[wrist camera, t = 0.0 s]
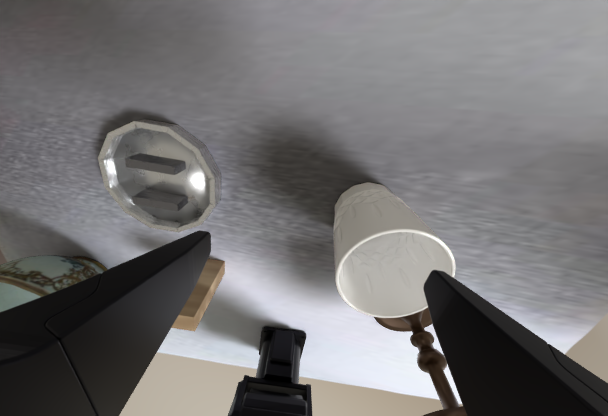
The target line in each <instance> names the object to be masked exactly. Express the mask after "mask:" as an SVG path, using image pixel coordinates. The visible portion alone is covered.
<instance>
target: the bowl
mask: <svg viewBox="0 0 608 416" xmlns="http://www.w3.org/2000/svg"><path fill="white" fill-rule="evenodd" d="M106 270H107V269H106V268H105V267H104V266H103V265H102V264H100V263H99V262H97V261H94V260H92V259H90V258H87V257H81V256H77V257H72V258H71V257H66V256H55V255H54V256H53V255H46V256H34V257H27V258H22V259H18V260H14V261H11V262H8V263H5V264H2V265H0V312H2V311H5V310H8V309H10V308H13V307H16V306H18V305H21V304H24V303H26V302H29V301H32V300H35V299H37V298H40V297H43V296H45V295H48V294H50V293H53V292H56V291H58V290H61V289H63V288H66V287H68V286H71V285H73V284H75V283H78V282H80V281H83V280H85V279H87V278H90V277H92V276H94V275H97V274H99V273H103V272H104V271H106Z"/></svg>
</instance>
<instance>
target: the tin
mask: <svg viewBox="0 0 608 416" xmlns="http://www.w3.org/2000/svg"><path fill="white" fill-rule="evenodd" d="M98 161H99V165H100V169H101V173H102V177H103V181H104V186H105V188H106V189H107V190H108V192H109V193H110V194H111V195H112V197H113V198H114V199H115V201H116V202H117V203H118V204H119V206H120V207H121V208H122V209H123V211H124V212H126V213H127V214H129V215H131V216H132V217H134V218H135V219H137V220H139V221H140V222H142V223H144V224H145V225H147V226H149V227H150V228H155V229H161V230H167V231H173V232H181V231H184V230H187V229H190V228H193V227H196V226H199V225H201V224H202V223H203V222H204V221H205V220H206V219H207V218H208V216H209V215H210V214H211V212H212V211H213V209H214V208H215V207H216V205H217V204H218V202H219V201H220V200H221V173H220V171H219V169H218V167H217V165H216V163H215V162H214V160H213V158H212V156H211V154H210V152H209V151H208V149H207V147H206V145H204V144H203V143H202V142H200V141H199V140H198V139H196V138H195V137H194V136H192V135H191V134H190V133H188V132H187V131H185V130H184V129H183V128H181V127H180V126H179V125H175V124H170V123H164V122H159V121H153V120H148V119H145V120H138V121H133V122H131V123H129V124H127V125H124V126H122V127H120V128H118V129H116V130H114V131H111V132H109V133H108V134H107V137H106V139H105V142H104V144H103V147H102V149H101V152H100V154H99V157H98Z"/></svg>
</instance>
